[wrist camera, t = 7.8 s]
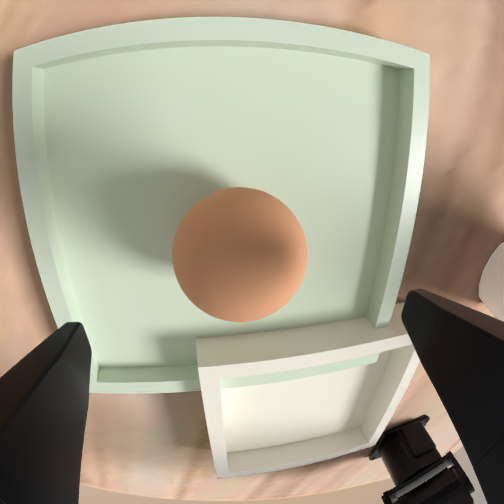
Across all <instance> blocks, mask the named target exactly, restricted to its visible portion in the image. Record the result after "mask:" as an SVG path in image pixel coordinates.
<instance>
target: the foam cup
mask: <svg viewBox="0 0 504 504" xmlns="http://www.w3.org/2000/svg"><path fill="white" fill-rule="evenodd" d="M479 298H480V299H481V300H482V302H483V303H484V304H485V305H486V307H487V308H488V309H489V310H490V311H491V313H492V314H493V315H494V316H495V317H496V319H498V320H501V321H503V322H504V242H502V243H501V244H500V245H499V246H498V247H497V248H496V250H495V251H494V252H493V253H492V255H491V256H490V258H489V260H488V262H487V264H486V266H485V268H484V270H483V272H482V276H481V279H480V283H479Z"/></svg>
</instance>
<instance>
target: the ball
mask: <svg viewBox="0 0 504 504" xmlns="http://www.w3.org/2000/svg"><path fill="white" fill-rule="evenodd" d="M172 262H173V268H174V273H175V276H176V279H177V281H178V283H179V285H180V287H181V289H182V291H183V292H184V294H185V295H186V296H187V298H188V299H189V300H190V301H191V302H192V303H193V304H194V305H195V306H196V307H198V308H199V309H200V310H202V311H203V312H205V313H206V314H208V315H210V316H212V317H215V318H218V319H221V320H225V321H230V322H250V321H255V320H259V319H262V318H264V317H267V316H269V315H271V314H273V313H275V312H276V311H278V310H279V309H281V308H282V307H283V306H284V305H285V304H286V303H287V302H288V301H289V300H290V299H291V298H292V297H293V295H294V294H295V293H296V291H297V289H298V288H299V286H300V284H301V282H302V280H303V277H304V273H305V270H306V264H307V245H306V240H305V236H304V233H303V230H302V228H301V225H300V223H299V222H298V220H297V218H296V217H295V215H294V214H293V213H292V211H291V210H290V209H289V208H288V207H287V206H286V205H285V204H284V203H283V202H281V201H280V200H279V199H277V198H275V197H274V196H272V195H270V194H268V193H266V192H264V191H261V190H257V189H253V188H247V187H232V188H226V189H222V190H218V191H216V192H213V193H211V194H209V195H207V196H205V197H203V198H202V199H201V200H199V201H198V202H197V203H195V204H194V205H193V206H192V207H191V208H190V209H189V211H188V212H187V213H186V214H185V216H184V217H183V219H182V220H181V222H180V224H179V226H178V228H177V231H176V234H175V237H174V241H173V247H172Z"/></svg>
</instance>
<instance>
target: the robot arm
mask: <svg viewBox="0 0 504 504" xmlns="http://www.w3.org/2000/svg"><path fill="white" fill-rule="evenodd" d="M401 319H402V322H403V324H404V326H405V329H406V331H407V333H408V335H409V337H410V340H411V342H412V344H413V346H414V349H415V351H416V353H417V355H418V357H419V360H420V362H421V363H422V365H423V367H424V369H425V371H426V373H427V375H428V376H429V378H430V380H431V382H432V384H433V386H434V388H435V389H436V391H437V393H438V395H439V397H440V399H441V401H442V403H443V405H444V407H445V409H446V411H447V413H448V415H449V417H450V419H451V421H452V423H453V425H454V427H455V429H456V431H457V433H458V435H459V437H460V440H461V442H462V444H463V446H464V448H465V450H466V452H467V455H468V457H469V459H470V461H471V464H472V466H473V469H474V471H475V473H476V476H477V478H478V481H479V483H480V486H481V488H482V491H483V493H484V496H485V498H486V501H487V504H504V322H503V321H501V320H498V319H496V318H493V317H491V316H489V315H486V314H484V313H481V312H479V311H476V310H474V309H471V308H469V307H466V306H464V305H461V304H459V303H456V302H454V301H451V300H448V299H446V298H443V297H441V296H438V295H436V294H433V293H431V292H428V291H425V290H423V289H416V290H411V291H409V292H408V294H407V296H406V300H405V303H404V306H403V310H402V313H401ZM91 358H92V350H91V346H90V343H89V340H88V337H87V334H86V332H85V329H84V326H83V324H82V323H81V322H66V323H65V324H64V325H62V326H61V327H60V328H59V329H57V330H56V331H55V332H54V333H53V334H51V335H50V336H49V337H48V338H46V339H45V340H44V341H43V342H42V343H40V344H39V345H38V346H37V347H36V348H34V349H33V350H32V351H31V352H30V353H28V354H27V355H26V356H25V357H24V358H23V359H21V360H20V361H19V362H18V363H17V364H16V365H14V366H13V367H12V368H11V369H10V370H9V371H8V372H6V373H5V374H4V375H3V376H2V377H1V378H0V504H78V499H79V483H80V470H81V459H82V449H83V441H84V433H85V425H86V418H87V411H88V402H89V385H90V370H91ZM429 419H430V418H429V416H425V417H422V418H420V419H418V420H415V421H413V422H410V423H408V424H405V425H403V426H400V427H397V428H395V429H392V430H389V431H387V432H385V433H384V434H383V435H382V437H381V439H380V440H379V442H378V444H377V445H376V447H375V448H374V450H373V451H372V453H371V455H370V456H369V459H370V460H374V459H377V458H380V457H381V458H382V460H383V462H384V464H385V466H386V468H387V470H388V472H389V474H390V476H391V478H392V480H393V482H394V484H395V486H396V487H394V488H393V489H391V490H389V491H386V492H384V493H383V494H384V495H383V496H382V497H381V498H382V500H383V502H384V504H474V501H473V498H472V497H471V495H470V494H471V493H473V492H474V491H475V490H474V487H473V485H472V484H471V482H470V480H469V478H468V477H467V476H466V474H465V472H464V471H463V469H462V468H461V466H460V465H459V463H458V462H457V460H456V459H455V457H454V456H453V454H452V453H451V451H449V452H448V453H447V454H446V455H445V456H444V457H441V455H440V454H439V452H438V450H437V449H436V445H435V443H434V442H433V440H432V439H431V437H430V435H429V434H428V432H427V431H426V429H425V428H424V426H425V425H426V424H427V422H428V421H429ZM449 465H451V466H452V467H450V468H449V469H448V468H447V466H449ZM444 468H445V469H444ZM441 470H442V471H441ZM432 476H433V477H432ZM429 478H430V479H429ZM426 480H427V481H426ZM423 482H424V483H423ZM421 483H422V484H421ZM418 485H419V486H418ZM413 488H414V489H413ZM408 491H409V492H408ZM406 492H407V493H406ZM401 495H402V496H401ZM399 496H400V497H399Z"/></svg>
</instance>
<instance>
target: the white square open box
mask: <svg viewBox="0 0 504 504" xmlns="http://www.w3.org/2000/svg"><path fill="white" fill-rule="evenodd" d="M404 303H405V302H403V303H397V304H395V307H394V310H393V313H392V317H391V320H390V323H389V326H388V327H383V328H378V329H374V328H373V326H372V325H371V324H370V322H369V321H368V320H367V318H366V317H365V318H359V319H353V320H347V321H341V322H334V323H328V324H321V325H315V326H308V327H300V328H293V329H285V330H277V331H269V332H260V333H251V334H241V335H231V336H220V337H208V338H196V351H197V364H198V372H199V379H200V386H201V392H202V399H203V405H204V411H205V417H206V423H207V429H208V434H209V440H210V445H211V450H212V456H213V461H214V466H215V471H216V476H217V479H222V478H231V477H240V476H247V475H254V474H261V473H267V472H273V471H278V470H284V469H289V468H294V467H298V466H303V465H307V464H312V463H316V462H320V461H324V460H328V459H331V458H335V457H339V456H342V455H345V454H349V453H352V452H355V451H359V450H362V449H365V448H368V447H371V446H374V445H375V444H376V443H377V441H378V439H379V438H380V436H381V434H382V433H383V431H384V429H385V428H386V426H387V424H388V422H389V421H390V419H391V417H392V415H393V413H394V412H395V410H396V408H397V406H398V404H399V402H400V400H401V398H402V396H403V394H404V393H405V391H406V389H407V387H408V385H409V382H410V380H411V378H412V376H413V374H414V372H415V370H416V368H417V366H418V363H419V361H420V360H419V357H418V355H417V353H416V351H415V349H414V346H413V344H412V342H411V340H410V337H409V335H408V333H407V331H406V329H405V326H404V324H403V322H402V319H401V313H402V310H403V306H404ZM376 353H380V354H379V357H378V359H377V362H375V363H371V364H367V365H363V366H359V367H354V368H350V369H346V370H341V371H336V372H331V373H326V374H321V375H316V376H311V377H305V378H300V379H294V380H288V381H281V382H275V383H268V384H260V385H253V386H245V387H236V388H226V389H220V379H227V378H236V377H245V376H253V375H261V374H269V373H276V372H283V371H289V370H295V369H301V368H307V367H313V366H319V365H324V364H329V363H334V362H339V361H344V360H349V359H354V358H358V357H363V356H367V355H371V354H376Z"/></svg>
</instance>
